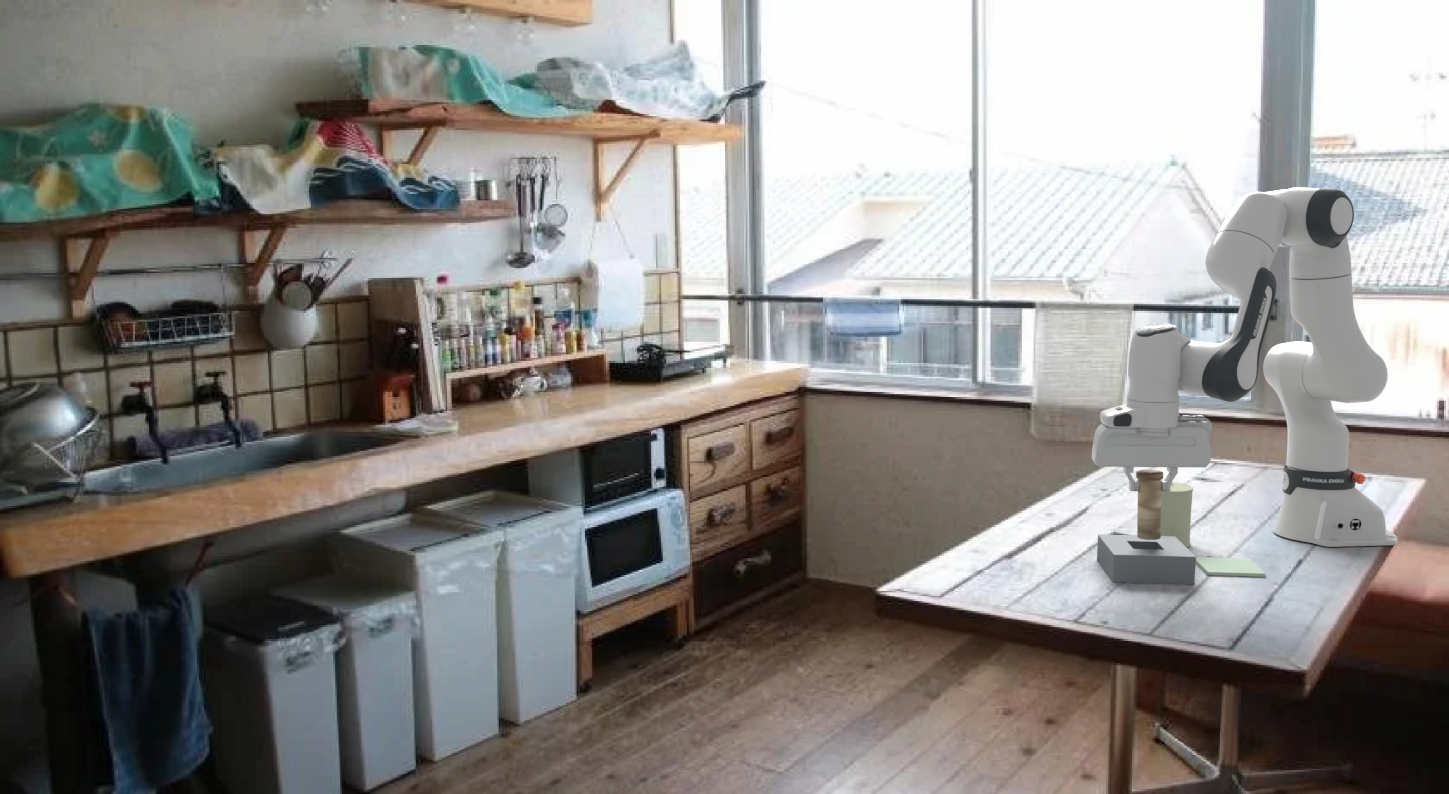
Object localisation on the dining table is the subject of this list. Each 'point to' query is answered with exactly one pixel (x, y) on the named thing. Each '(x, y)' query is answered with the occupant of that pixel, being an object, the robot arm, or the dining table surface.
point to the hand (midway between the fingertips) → (1149, 490)
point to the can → (1177, 512)
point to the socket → (1146, 559)
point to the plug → (1149, 504)
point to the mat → (1229, 567)
